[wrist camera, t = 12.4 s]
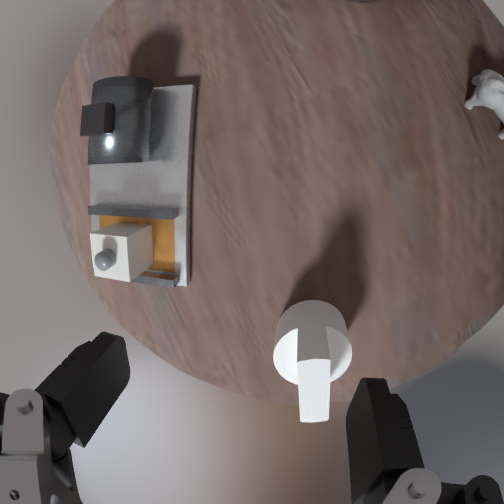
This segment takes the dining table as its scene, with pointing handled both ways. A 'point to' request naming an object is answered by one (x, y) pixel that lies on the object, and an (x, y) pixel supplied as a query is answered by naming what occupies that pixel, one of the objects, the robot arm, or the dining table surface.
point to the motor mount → (143, 167)
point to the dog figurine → (489, 93)
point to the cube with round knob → (122, 250)
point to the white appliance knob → (312, 353)
